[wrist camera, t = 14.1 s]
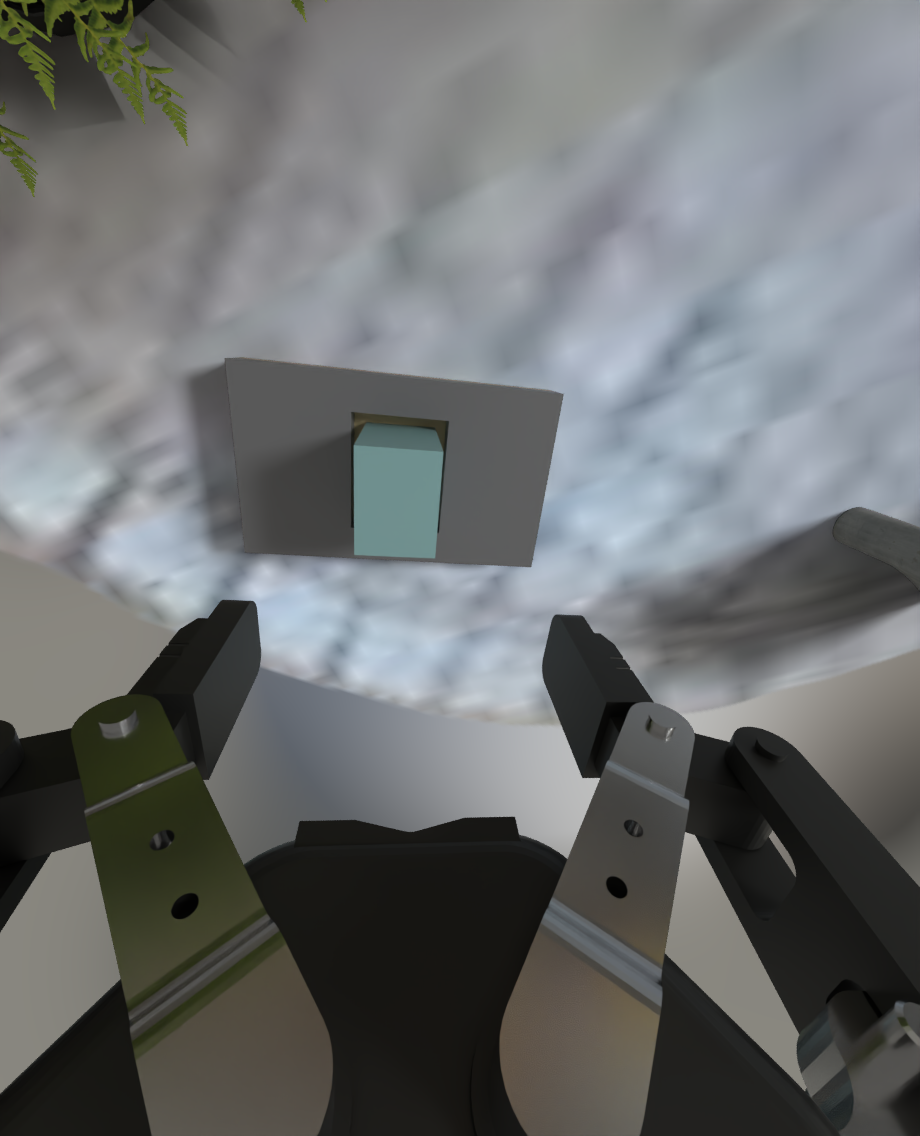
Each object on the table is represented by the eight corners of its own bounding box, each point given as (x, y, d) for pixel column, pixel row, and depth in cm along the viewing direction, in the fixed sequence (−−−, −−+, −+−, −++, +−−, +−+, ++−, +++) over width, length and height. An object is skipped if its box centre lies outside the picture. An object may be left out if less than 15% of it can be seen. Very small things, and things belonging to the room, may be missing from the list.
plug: (366, 421, 30) (353, 445, 23) (435, 427, 31) (443, 452, 23) (366, 509, 32) (354, 555, 25) (429, 512, 33) (435, 558, 26)
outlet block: (241, 357, 28) (224, 358, 26) (550, 390, 31) (563, 394, 29) (257, 536, 34) (244, 552, 31) (521, 551, 36) (531, 567, 34)
